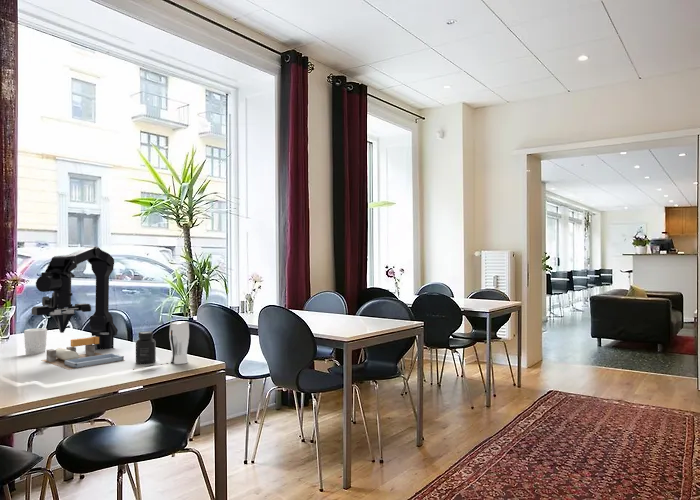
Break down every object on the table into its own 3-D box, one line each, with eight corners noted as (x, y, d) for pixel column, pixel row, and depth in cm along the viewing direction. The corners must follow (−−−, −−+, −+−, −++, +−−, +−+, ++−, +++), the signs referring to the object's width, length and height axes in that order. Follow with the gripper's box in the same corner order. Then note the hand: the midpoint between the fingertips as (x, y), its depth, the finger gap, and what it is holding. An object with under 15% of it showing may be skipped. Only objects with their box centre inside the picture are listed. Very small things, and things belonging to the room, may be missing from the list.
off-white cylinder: (52, 358, 197) (54, 347, 198) (63, 358, 200) (65, 347, 201) (66, 362, 190) (68, 351, 190) (77, 362, 193) (79, 351, 193)
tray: (111, 357, 201) (111, 353, 201) (123, 360, 196) (123, 356, 196) (64, 364, 188) (64, 360, 188) (75, 368, 182) (75, 363, 182)
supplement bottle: (159, 363, 194) (159, 331, 194) (146, 367, 188) (147, 334, 188) (144, 362, 196) (144, 330, 197) (131, 366, 190) (131, 333, 190)
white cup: (36, 356, 207) (36, 331, 207) (19, 356, 208) (19, 330, 208) (51, 353, 214) (51, 328, 214) (34, 352, 216) (34, 327, 216)
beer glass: (172, 361, 199) (172, 321, 199) (190, 360, 200) (191, 321, 200) (167, 365, 192) (167, 323, 192) (186, 364, 193) (186, 323, 193)
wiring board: (95, 354, 211) (95, 342, 211) (125, 363, 196) (125, 349, 196) (40, 362, 195) (40, 349, 195) (68, 372, 180) (68, 357, 180)
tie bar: (95, 342, 208) (95, 336, 208) (99, 343, 206) (99, 337, 206) (69, 346, 201) (69, 339, 201) (73, 347, 199) (73, 340, 199)
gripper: (79, 288, 207) (79, 328, 206) (26, 290, 192) (25, 333, 192) (92, 289, 199) (91, 330, 199) (37, 291, 185) (37, 336, 185)
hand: (61, 332), depth 194 cm, fingers closed
